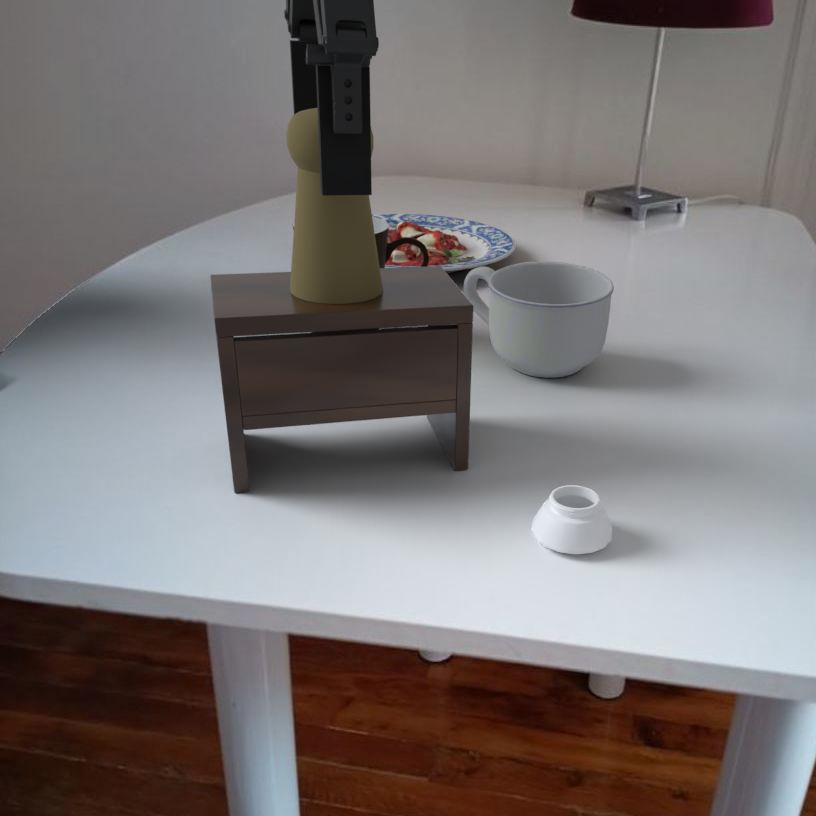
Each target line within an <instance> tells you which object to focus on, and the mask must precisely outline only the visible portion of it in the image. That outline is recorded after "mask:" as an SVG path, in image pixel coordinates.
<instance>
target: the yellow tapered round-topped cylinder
mask: <svg viewBox="0 0 816 816" xmlns="http://www.w3.org/2000/svg"><path fill="white" fill-rule="evenodd" d="M285 134H286V145H287V148H288V151H289V152H288V153H289V155H290V158H291V159H292V161H293V162H294V163H295V165H296V167H297V174H296V191H295V204H294V205H295V207H294V219H293V220H294V221H293V222H294V230H293V237H292V252H291V253H292V254H291V268H290V269H291V270H290V272H291V282H290V291H291V294H293V295H294V296H295V297H297V298H300V299H303V300H305V301H310V302H316V303H324V304H350V303H357V302H363V301H367V300H370V299H374V298H376V297H377V296H379V295H381V293H382V291H383V286H382V279H381V272H380V266H379V259H378V253H377V246H376V239H375V233H374V226H373V219H372V207H371V201H370V199H371V198H370V195H322V193H321V179H320V155H319V131H318V108H312V109H307V110H303V111H300V112H298V113H296V114H295V115H294V114H293V115H292V116H291V118H290V120H289V122H288V123H287V129H286V133H285ZM374 146H375V145H374V133H373V130H372V128H371V158H372V156H373V151H374Z"/></svg>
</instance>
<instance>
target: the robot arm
mask: <svg viewBox="0 0 816 816" xmlns="http://www.w3.org/2000/svg"><path fill="white" fill-rule="evenodd" d="M283 11H284V12H283V15H284V16H283V17H284V19H285V21H286V24H287V32H288V33H289V35H290V39H289V51H290V68H291V69H290V71H291V89H292V90H291V91H292V106H293V108H292V109H293V115H295V114H296V113H298V112H300V111H303V110H307V109H312V108H318V131H319V155H320V179H321V193H322V195H369V196H372V194H373V193H372V192H373V190H372V189H373V188H372V157H371V129H372V125H371V123H372V122H371V118H372V117H371V68H370V65H371V61H372V59H373V57H376V56H377V52H378V50H379V46H380V45H379V44H380V43H379V41H380V40H379V37H378V35H377V25H376V13H375V3H374V0H285V9H284V10H283ZM292 39H293V40H292ZM295 39H296V40H295Z"/></svg>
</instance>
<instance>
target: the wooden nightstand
mask: <svg viewBox="0 0 816 816" xmlns="http://www.w3.org/2000/svg"><path fill="white" fill-rule="evenodd" d="M380 272H381V279H382V286H383V291H382V293H381V295H379V296H377V297H376V298H374V299H370V300H367V301H363V302H357V303H350V304H324V303H316V302H310V301H305V300H303V299H300V298H297V297H295V296H294V295H293V294H291V291H290V282H291V271H274V272H249V273H245V272H244V273H224V274H223V273H222V274H220V273H219V274H210V276H209V277H210V287H211V299H212V308H213V310H212V311H213V320H214V329H215V337H216V346H217V354H218V362H219V363H218V365H219V372H220V381H221V389H222V397H223V406H224V416H225V424H226V432H227V433H226V434H227V441H228V442H227V443H228V449H229V450H228V451H229V457H230V468H231V476H232V485H233V492H234V493H235V494H238V493H247V492H250V491H251V488H250V479H249V469H248V460H247V458H248V457H247V449H246V440H245V431H251V430H265V429H274V428H288V427H298V426H300V427H301V426H313V425H323V424H324V425H325V424H334V423H347V422H348V423H349V422H358V421H360V422H361V421H370V420H371V421H372V420H383V419H396V418H397V419H398V418H406V417H407V418H409V417H419V416H426V419H427V421H428V423H429V424H430V426H431V428H432V430H433V432H434V434H435V436H436V438H437V439H438V441H439V443H440V445H441V447H442V449H443V451H444V453H445V455H446V456H447V458H448V461H449V462H450V464H451V466H452V468H453V470H454V471H455V472H456V471H467V470H469V457H470V454H469V452H470V423H471V397H472V393H471V392H472V365H473V363H472V362H473V357H472V356H473V336H474V335H473V333H474V332H473V331H474V324H473V322H474V311H473V305H472V303H471V302H470V301H469V300H468V299H467V297H466V296H465V294H464V291H462V289H461V288H459V286H458V285H457V283H455V282H454V280H453V279H452V278H451V277H450V275H449V273H446V272H445V271H444V269H443V268H442V267H441V266H428V267H402V268H380ZM372 328H379V329H372ZM354 329H370V330H354ZM337 330H352V331H337ZM319 331H335V332H319ZM312 332H317V333H312Z"/></svg>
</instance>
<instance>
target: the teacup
mask: <svg viewBox="0 0 816 816" xmlns="http://www.w3.org/2000/svg"><path fill="white" fill-rule="evenodd" d="M479 279H481V280H484V281H485V282H486V284H487V285H488V288H489V295H488V297H489V298H488V299H489V301H488V305H486V303H485V302H484V301H483V299H482V298H481V297H480V295H479V292H478V288H477V285H478V281H479ZM614 288H615V287H614V283H613V281H612V279H611V278H610V277H608V276H607V275H605V274H604V273H603V272H601V271H598V270H596V269H594V268H592V267H587V266H584V265H581V264H576V263H570V262H569V263H568V262H562V261H551V260H548V261H547V260H546V261H545V260H544V261H539V260H538V261H535V260H534V261H525V262H519V263H514V264H510V265H507V266H504V267H502V268H499V269H496V270H494V269H493V268H492V267H489V266H480V267H475V268H472V269H471V270H470V271H468V273H467V274H466V276H465V278H464V281H463V294H464V295H465V296H466V297H467V299H468V300H469V301H470V302H471V303H472V305H473V313H475V314H476V315H477V316H478V317H479V318H480V319H481V320H483V322H484V323H485V324H486V325H487V327H488V329H489V331H488V332H489V338H490V342H491V345H492V348H493V350H494V351H495V352H496V354H497V355H498V356H499V357H500V359H502V360H503V361H504V362H506V363H507V364H508V365H509V366H510V368H512V369H514V370H515V371H517V372H519V373H521V374H524V375H528V376H530V377H535V378H545V379H554V378H555V379H556V378H564V377H567V376H571V375H574V374H575V373H578V372H579V371H581V370H582V369H583V368H584V367H586V366H588V365H589V364H591V363H592V362H594V361H595V360H596V359H597V358H598V357H599V355H600V354H601V353H602V351H603V349H604V346H605V344H606V339H607V334H608V327H609V320H610V312H611V302H612V295H613V293H614V290H615V289H614Z"/></svg>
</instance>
